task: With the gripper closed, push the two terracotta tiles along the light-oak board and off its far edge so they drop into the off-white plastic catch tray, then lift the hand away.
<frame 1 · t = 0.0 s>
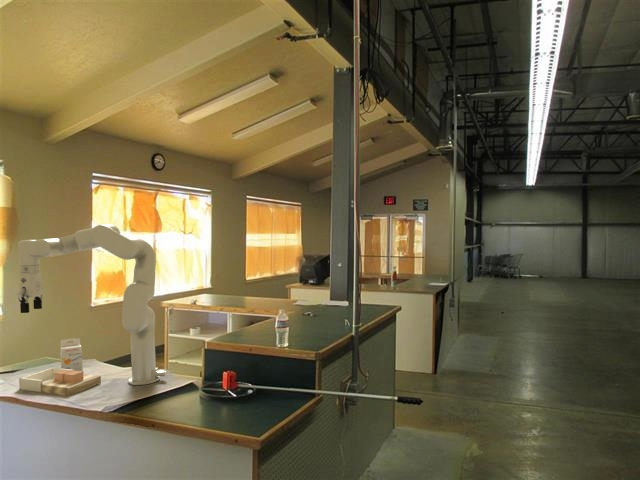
hand: (31, 310, 204), 31 cm above the table, fingers open, 9 cm apart
tile 1: (64, 379, 202), point 3 cm above the table, touching board
ink box: (72, 372, 223), on the table
tile 2: (74, 380, 200), point 3 cm above the table, touching board
board: (71, 387, 201), on the table
tray: (47, 384, 206), on the table
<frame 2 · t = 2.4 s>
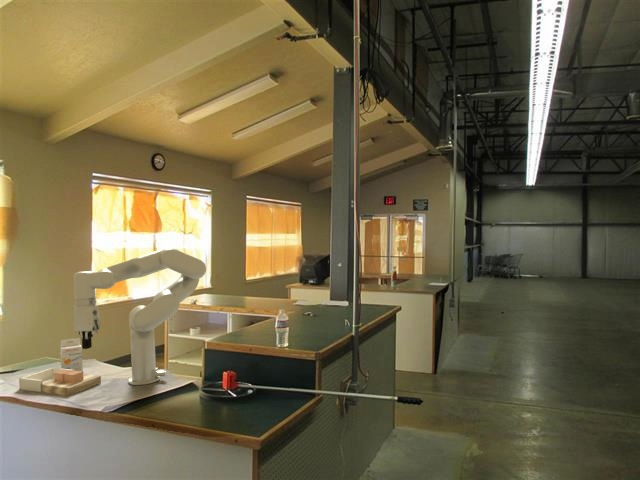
hand: (87, 348, 197), 17 cm above the table, fingers closed
nothing on the table moved.
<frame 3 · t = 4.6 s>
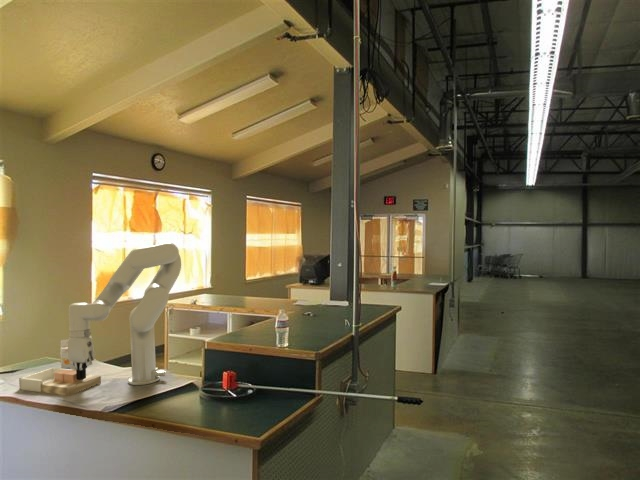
hand: (81, 378, 198), 4 cm above the table, fingers closed
tile 2: (73, 380, 200), point 3 cm above the table, touching gripper
everything else where it was.
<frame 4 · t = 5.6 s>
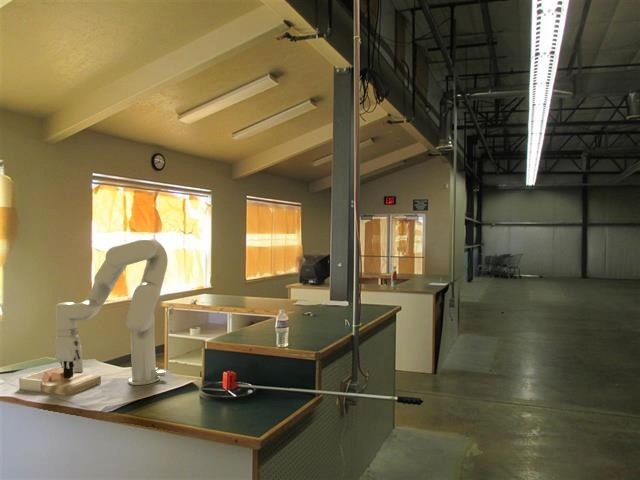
hand: (68, 377, 201), 4 cm above the table, fingers closed
tile 1: (53, 378, 204), point 3 cm above the table, tilted 59°, touching tray
tile 2: (61, 378, 203), point 3 cm above the table, touching gripper
everything else where it was.
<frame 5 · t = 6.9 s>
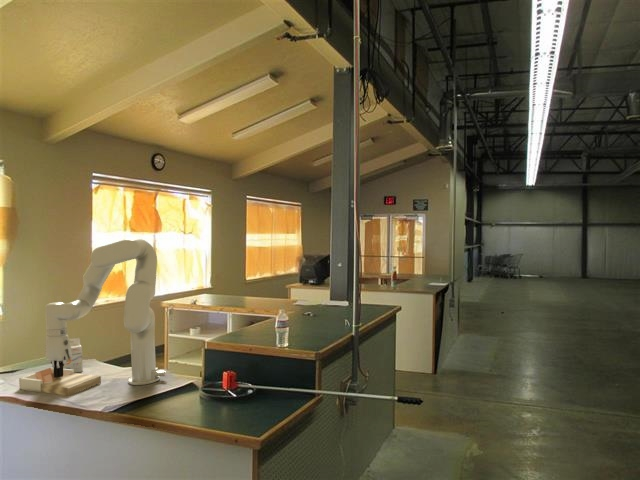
hand: (58, 376, 203), 4 cm above the table, fingers closed
tile 1: (47, 375, 205), point 4 cm above the table, tilted 109°, touching tile 2, tray
tile 2: (54, 380, 205), point 2 cm above the table, tilted 19°, touching gripper, tile 1
everything else where it was.
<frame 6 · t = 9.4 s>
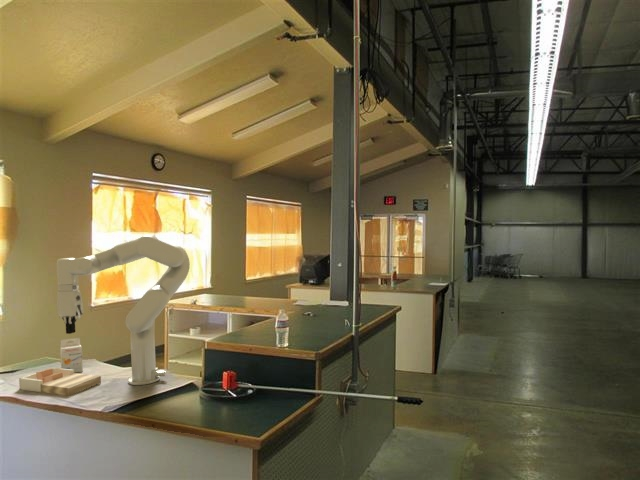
hand: (70, 332, 201), 22 cm above the table, fingers closed
tile 1: (47, 375, 205), point 4 cm above the table, tilted 102°, touching tile 2, tray
tile 2: (54, 382, 205), point 1 cm above the table, tilted 12°, touching board, tile 1, tray
everything else where it was.
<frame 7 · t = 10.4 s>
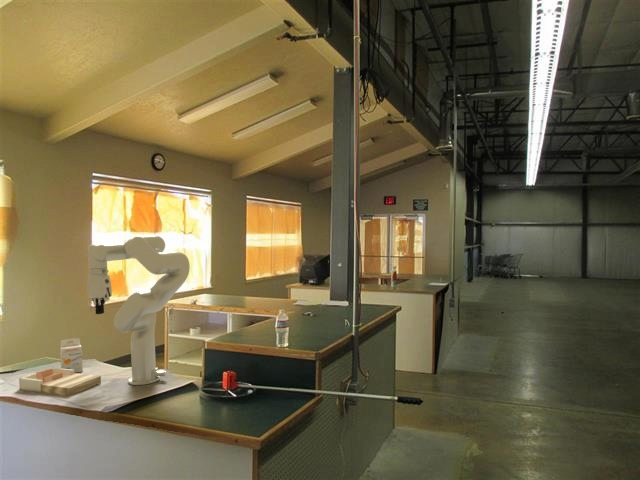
hand: (99, 313, 217), 27 cm above the table, fingers closed
nothing on the table moved.
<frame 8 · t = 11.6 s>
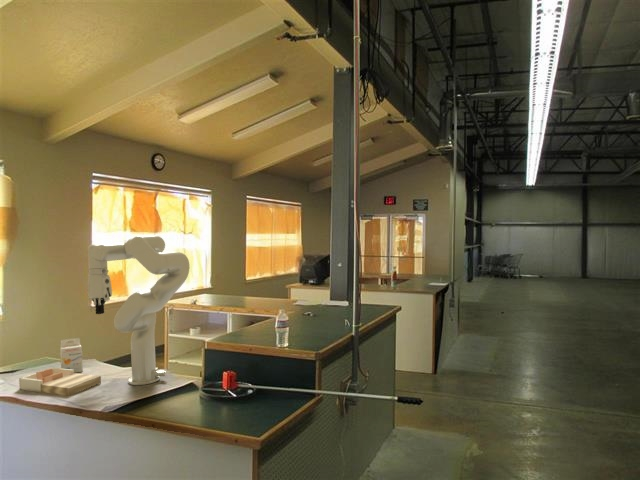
hand: (100, 313, 217), 27 cm above the table, fingers closed
nothing on the table moved.
at the end: tile 1 inside the target area on the tray (0.4 cm from its centre), point 3.7 cm above the tray's base; tile 2 inside the target area on the tray (3.5 cm from its centre), point 1.1 cm above the tray's base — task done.
